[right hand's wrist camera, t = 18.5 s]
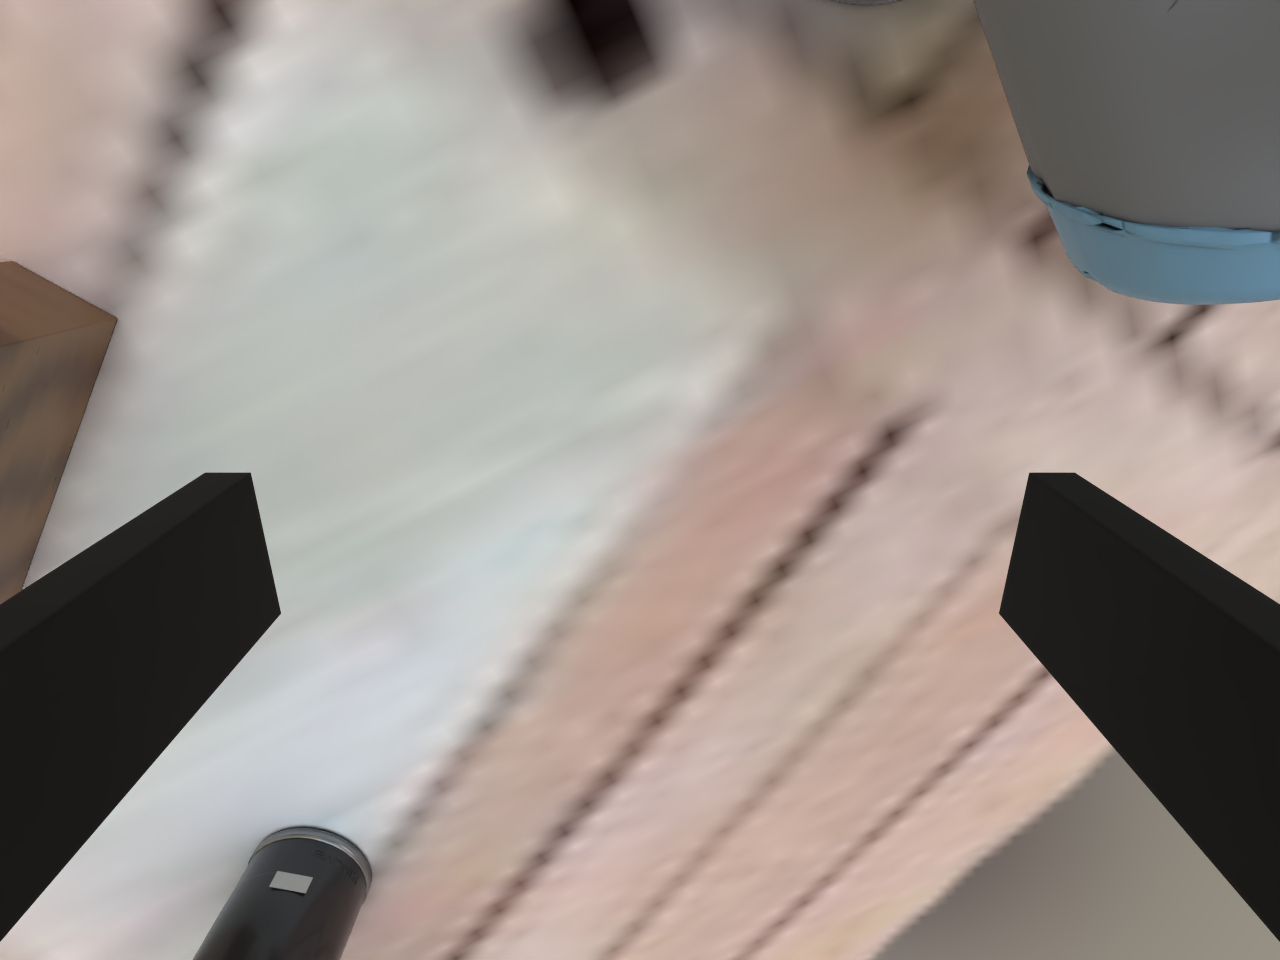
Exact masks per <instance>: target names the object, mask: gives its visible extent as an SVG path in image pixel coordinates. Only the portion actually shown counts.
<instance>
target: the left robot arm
mask: <svg viewBox="0 0 1280 960" xmlns="http://www.w3.org/2000/svg"><path fill="white" fill-rule="evenodd" d="M371 879H372V877H371V870H370V867H369V864H368V862H367V860H366V859H365V857H364V856H363V855H362V853H361V852H360V851H359V850H358V849H357V848H356V847H355V846H353V845H352V844H351V843H349V842H348V841H346V840H345V839H343V838H341V837H339V836H337V835H335V834H332V833H329V832H326V831H323V830H318V829H312V828H293V829H287V830H282V831H279V832H276V833H274V834H272V835H270V836H269V837H267V838H266V839H264V840H263V841H262V842H261V843H260V844H259V845H258V847H257V848H256V850H255V852H254V853H253V855H252V857H251V858H250V861H249V863H248V866H247V868H246V870H245V871H244V873H243V875H242V877H241V878H240V880H239V882H238V883H237V885H236V887H235V889H234V890H233V892H232V893H231V895H230V897H229V898H228V900H227V902H226V904H225V905H224V907H223V909H222V910H221V912H220V914H219V916H218V917H217V919H216V921H215V922H214V924H213V926H212V928H211V929H210V931H209V933H208V934H207V936H206V938H205V940H204V941H203V943H202V945H201V946H200V948H199V950H198V952H197V953H196V955H195V957H194V958H193V960H340V959H341V956H342V954H343V951H344V949H345V946H346V944H347V941H348V938H349V936H350V934H351V931H352V929H353V926H354V923H355V921H356V918H357V916H358V913H359V911H360V908H361V905H362V904H363V903H364V901H365V899H366V896H367V894H368V891H369V888H370V886H371Z"/></svg>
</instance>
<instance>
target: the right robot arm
mask: <svg viewBox="0 0 1280 960" xmlns="http://www.w3.org/2000/svg"><path fill="white" fill-rule="evenodd" d="M832 1H836V2H840V3H846V4H854V5H876V4H886V3H891V2H896V1H900V0H832ZM974 3H975V6H976V9H977V12H978V15H979V18H980V21H981V24H982V27H983V30H984V33H985V36H986V38H987V41H988V44H989V47H990V50H991V53H992V56H993V59H994V62H995V65H996V68H997V71H998V74H999V77H1000V80H1001V82H1002V85H1003V88H1004V91H1005V94H1006V97H1007V100H1008V103H1009V106H1010V109H1011V112H1012V115H1013V118H1014V121H1015V124H1016V126H1017V129H1018V132H1019V135H1020V138H1021V141H1022V144H1023V147H1024V150H1025V153H1026V156H1027V159H1028V162H1029V168H1028V172H1027V175H1028V178H1029V181H1030V184H1031V187H1032V189H1033V191H1034V192H1035V194H1036V195H1037V197H1038V198H1039V199H1040V200H1042V201H1043V202H1044V203H1045V204H1046V206H1047V208H1048V210H1049V213H1050V215H1051V218H1052V220H1053V222H1054V225H1055V227H1056V230H1057V232H1058V234H1059V237H1060V239H1061V242H1062V244H1063V246H1064V249H1065V251H1066V254H1067V256H1068V257H1069V259H1070V261H1071V262H1072V263H1073V265H1074V266H1075V267H1076V268H1077V269H1078V271H1079V272H1080V273H1082V274H1083V275H1084V276H1086V277H1088V278H1090V279H1092V280H1094V281H1097V282H1099V283H1100V284H1102V285H1104V286H1105V287H1106V288H1107V289H1108V290H1111V291H1113V292H1115V293H1118V294H1121V295H1125V296H1129V297H1133V298H1137V299H1142V300H1147V301H1153V302H1162V303H1172V304H1190V305H1210V304H1235V303H1251V302H1263V301H1271V300H1279V299H1280V0H974ZM280 614H281V611H280V607H279V602H278V597H277V593H276V588H275V583H274V579H273V574H272V570H271V565H270V560H269V556H268V551H267V546H266V542H265V537H264V532H263V528H262V523H261V518H260V514H259V509H258V505H257V500H256V495H255V491H254V486H253V481H252V477H251V473H204V474H203V475H201V476H199V477H198V478H196V479H195V480H193V481H192V482H190V483H189V484H187V485H185V486H184V487H182V488H181V489H179V490H178V491H176V492H175V493H173V494H171V495H170V496H168V497H167V498H165V499H164V500H162V501H160V502H159V503H157V504H156V505H154V506H153V507H151V508H150V509H148V510H146V511H145V512H143V513H142V514H140V515H139V516H137V517H136V518H134V519H132V520H131V521H129V522H128V523H126V524H125V525H123V526H122V527H120V528H118V529H117V530H115V531H114V532H112V533H111V534H109V535H108V536H106V537H104V538H103V539H101V540H100V541H98V542H97V543H95V544H94V545H92V546H90V547H89V548H87V549H86V550H84V551H83V552H81V553H79V554H78V555H76V556H75V557H73V558H72V559H70V560H69V561H67V562H65V563H64V564H62V565H61V566H59V567H58V568H56V569H55V570H53V571H51V572H50V573H48V574H47V575H45V576H44V577H42V578H41V579H39V580H37V581H36V582H34V583H33V584H31V585H30V586H28V587H27V588H25V589H23V590H22V591H20V592H19V593H17V594H16V595H14V596H13V597H11V598H9V599H8V600H6V601H5V602H3V603H2V604H0V941H1V940H2V939H3V938H4V937H5V936H6V934H7V933H8V932H9V931H10V930H11V929H12V927H13V926H14V925H15V924H16V923H17V921H18V920H19V919H20V918H21V917H22V916H23V914H24V913H25V912H26V911H27V910H28V909H29V907H30V906H31V905H32V904H33V903H34V902H35V900H36V899H37V898H38V897H39V896H40V895H41V893H42V892H43V891H44V890H45V889H46V888H47V886H48V885H49V884H50V883H51V882H52V881H53V879H54V878H55V877H56V876H57V875H58V874H59V872H60V871H61V870H62V869H63V868H64V867H65V865H66V864H67V863H68V862H69V861H70V860H71V858H72V857H73V856H74V855H75V854H76V853H77V851H78V850H79V849H80V848H81V847H82V845H83V844H84V843H85V842H86V841H87V840H88V838H89V837H90V836H91V835H92V834H93V833H94V831H95V830H96V829H97V828H98V827H99V826H100V824H101V823H102V822H103V821H104V820H105V819H106V817H107V816H108V815H109V814H110V813H111V812H112V810H113V809H114V808H115V807H116V806H117V805H118V803H119V802H120V801H121V800H122V799H123V798H124V796H125V795H126V794H127V793H128V792H129V791H130V789H131V788H132V787H133V786H134V785H135V784H136V782H137V781H138V780H139V779H140V778H141V777H142V775H143V774H144V773H145V772H146V771H147V769H148V768H149V767H150V766H151V765H152V764H153V762H154V761H155V760H156V759H157V758H158V757H159V755H160V754H161V753H162V752H163V751H164V750H165V748H166V747H167V746H168V745H169V744H170V743H171V741H172V740H173V739H174V738H175V737H176V736H177V734H178V733H179V732H180V731H181V730H182V729H183V727H184V726H185V725H186V724H187V723H188V722H189V720H190V719H191V718H192V717H193V716H194V715H195V713H196V712H197V711H198V710H199V709H200V708H201V706H202V705H203V704H204V703H205V702H206V701H207V699H208V698H209V697H210V696H211V695H212V693H213V692H214V691H215V690H216V689H217V688H218V686H219V685H220V684H221V683H222V682H223V681H224V679H225V678H226V677H227V676H228V675H229V674H230V672H231V671H232V670H233V669H234V668H235V667H236V665H237V664H238V663H239V662H240V661H241V660H242V658H243V657H244V656H245V655H246V654H247V653H248V651H249V650H250V649H251V648H252V647H253V646H254V644H255V643H256V642H257V641H258V640H259V639H260V637H261V636H262V635H263V634H264V633H265V632H266V630H267V629H268V628H269V627H270V626H271V625H272V623H273V622H274V621H275V620H276V619H277V617H278V616H279V615H280ZM999 614H1000V615H1001V616H1002V617H1003V619H1004V620H1005V621H1006V622H1007V623H1008V625H1009V626H1010V627H1011V628H1012V629H1013V630H1014V632H1015V633H1016V634H1017V635H1018V636H1019V637H1020V639H1021V640H1022V641H1023V642H1024V643H1025V644H1026V646H1027V647H1028V648H1029V649H1030V650H1031V651H1032V653H1033V654H1034V655H1035V656H1036V657H1037V658H1038V660H1039V661H1040V662H1041V663H1042V664H1043V665H1044V667H1045V668H1046V669H1047V670H1048V671H1049V672H1050V674H1051V675H1052V676H1053V677H1054V678H1055V679H1056V681H1057V682H1058V683H1059V684H1060V685H1061V686H1062V688H1063V689H1064V690H1065V691H1066V692H1067V693H1068V695H1069V696H1070V697H1071V698H1072V699H1073V701H1074V702H1075V703H1076V704H1077V705H1078V706H1079V708H1080V709H1081V710H1082V711H1083V712H1084V713H1085V715H1086V716H1087V717H1088V718H1089V719H1090V720H1091V722H1092V723H1093V724H1094V725H1095V726H1096V727H1097V729H1098V730H1099V731H1100V732H1101V733H1102V734H1103V736H1104V737H1105V738H1106V739H1107V740H1108V741H1109V743H1110V744H1111V745H1112V746H1113V747H1114V748H1115V750H1116V751H1117V752H1118V753H1119V754H1120V755H1121V757H1122V758H1123V759H1124V760H1125V761H1126V762H1127V764H1128V765H1129V766H1130V767H1131V768H1132V769H1133V771H1134V772H1135V773H1136V774H1137V775H1138V777H1139V778H1140V779H1141V780H1142V781H1143V782H1144V783H1145V785H1146V786H1147V787H1148V788H1149V789H1150V791H1151V792H1152V793H1153V794H1154V795H1155V796H1156V798H1157V799H1158V800H1159V801H1160V802H1161V803H1162V805H1163V806H1164V807H1165V808H1166V809H1167V810H1168V812H1169V813H1170V814H1171V815H1172V816H1173V817H1174V819H1175V820H1176V821H1177V822H1178V823H1179V824H1180V826H1181V827H1182V828H1183V829H1184V830H1185V831H1186V833H1187V834H1188V835H1189V836H1190V837H1191V838H1192V840H1193V841H1194V842H1195V843H1196V844H1197V845H1198V847H1199V848H1200V849H1201V850H1202V851H1203V852H1204V854H1205V855H1206V856H1207V857H1208V858H1209V860H1210V861H1211V862H1212V863H1213V864H1214V865H1215V867H1216V868H1217V869H1218V870H1219V871H1220V872H1221V874H1222V875H1223V876H1224V877H1225V878H1226V879H1227V881H1228V882H1229V883H1230V884H1231V885H1232V886H1233V888H1234V889H1235V890H1236V891H1237V892H1238V893H1239V895H1240V896H1241V897H1242V898H1243V899H1244V900H1245V902H1246V903H1247V904H1248V905H1249V906H1250V907H1251V909H1252V910H1253V911H1254V912H1255V913H1256V914H1257V916H1258V917H1259V918H1260V919H1261V920H1262V921H1263V923H1264V924H1265V925H1266V926H1267V927H1268V929H1269V930H1270V931H1271V932H1272V933H1273V934H1274V935H1275V937H1276V938H1277V939H1278V940H1279V941H1280V604H1278V603H1277V602H1275V601H1274V600H1272V599H1271V598H1269V597H1267V596H1266V595H1264V594H1263V593H1261V592H1260V591H1258V590H1257V589H1255V588H1253V587H1252V586H1250V585H1249V584H1247V583H1246V582H1244V581H1243V580H1241V579H1239V578H1238V577H1236V576H1235V575H1233V574H1232V573H1230V572H1229V571H1227V570H1225V569H1224V568H1222V567H1221V566H1219V565H1218V564H1216V563H1215V562H1213V561H1211V560H1210V559H1208V558H1207V557H1205V556H1204V555H1202V554H1201V553H1199V552H1197V551H1196V550H1194V549H1193V548H1191V547H1190V546H1188V545H1186V544H1185V543H1183V542H1182V541H1180V540H1179V539H1177V538H1176V537H1174V536H1172V535H1171V534H1169V533H1168V532H1166V531H1165V530H1163V529H1162V528H1160V527H1158V526H1157V525H1155V524H1154V523H1152V522H1151V521H1149V520H1148V519H1146V518H1144V517H1143V516H1141V515H1140V514H1138V513H1137V512H1135V511H1134V510H1132V509H1130V508H1129V507H1127V506H1126V505H1124V504H1123V503H1121V502H1120V501H1118V500H1116V499H1115V498H1113V497H1112V496H1110V495H1109V494H1107V493H1105V492H1104V491H1102V490H1101V489H1099V488H1098V487H1096V486H1095V485H1093V484H1091V483H1090V482H1088V481H1087V480H1085V479H1084V478H1082V477H1081V476H1079V475H1077V474H1076V473H1029V477H1028V481H1027V486H1026V491H1025V495H1024V500H1023V505H1022V509H1021V514H1020V518H1019V523H1018V528H1017V532H1016V537H1015V542H1014V546H1013V551H1012V556H1011V560H1010V565H1009V570H1008V574H1007V579H1006V583H1005V588H1004V593H1003V597H1002V602H1001V607H1000V611H999Z"/></svg>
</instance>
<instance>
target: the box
mask: <svg viewBox="0 0 1280 960" xmlns="http://www.w3.org/2000/svg"><path fill="white" fill-rule="evenodd" d="M116 321H117V318H115V317H114V316H112V315H110V314H108V313H106V312H104V311H103V310H101V309H99V308H97V307H95V306H93V305H92V304H90V303H88V302H86V301H84V300H82V299H81V298H79V297H77V296H75V295H73V294H71V293H70V292H68V291H66V290H64V289H62V288H60V287H59V286H57V285H55V284H53V283H51V282H49V281H48V280H46V279H44V278H42V277H40V276H38V275H36V274H35V273H33V272H31V271H29V270H27V269H25V268H24V267H22V266H20V265H18V264H16V263H14V262H12V261H8V262H0V604H2V603H3V602H5V601H6V600H8V599H9V598H11V597H13V596H14V595H16V594H17V593H19V592H20V591H21V588H22V586H23V583H24V580H25V577H26V574H27V572H28V569H29V566H30V563H31V560H32V557H33V555H34V552H35V549H36V546H37V543H38V541H39V538H40V535H41V532H42V529H43V527H44V524H45V521H46V518H47V515H48V512H49V510H50V507H51V504H52V501H53V498H54V496H55V493H56V490H57V487H58V484H59V481H60V479H61V476H62V473H63V470H64V467H65V465H66V462H67V459H68V456H69V453H70V451H71V448H72V445H73V442H74V439H75V436H76V434H77V431H78V428H79V425H80V422H81V420H82V417H83V414H84V411H85V408H86V405H87V403H88V400H89V397H90V394H91V391H92V389H93V386H94V383H95V380H96V377H97V375H98V372H99V369H100V366H101V363H102V360H103V358H104V355H105V352H106V349H107V346H108V344H109V341H110V338H111V335H112V332H113V329H114V327H115V324H116Z"/></svg>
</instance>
